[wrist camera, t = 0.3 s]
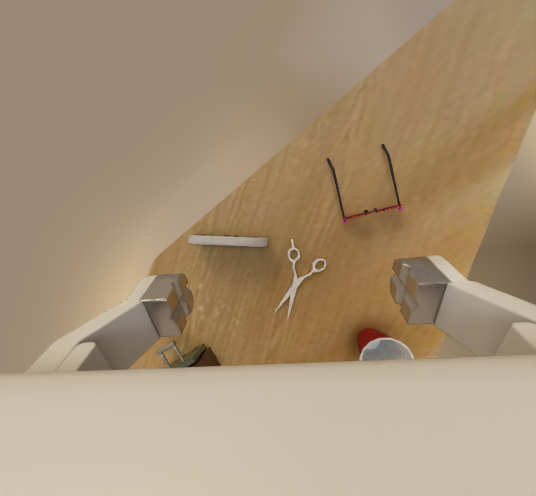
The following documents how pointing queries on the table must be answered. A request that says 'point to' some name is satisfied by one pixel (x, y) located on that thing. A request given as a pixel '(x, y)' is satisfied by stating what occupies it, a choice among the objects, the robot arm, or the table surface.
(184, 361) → the drawer
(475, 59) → the table surface
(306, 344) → the table surface
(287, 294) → the scissors
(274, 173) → the table surface
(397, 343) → the plastic cup
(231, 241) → the game controller
